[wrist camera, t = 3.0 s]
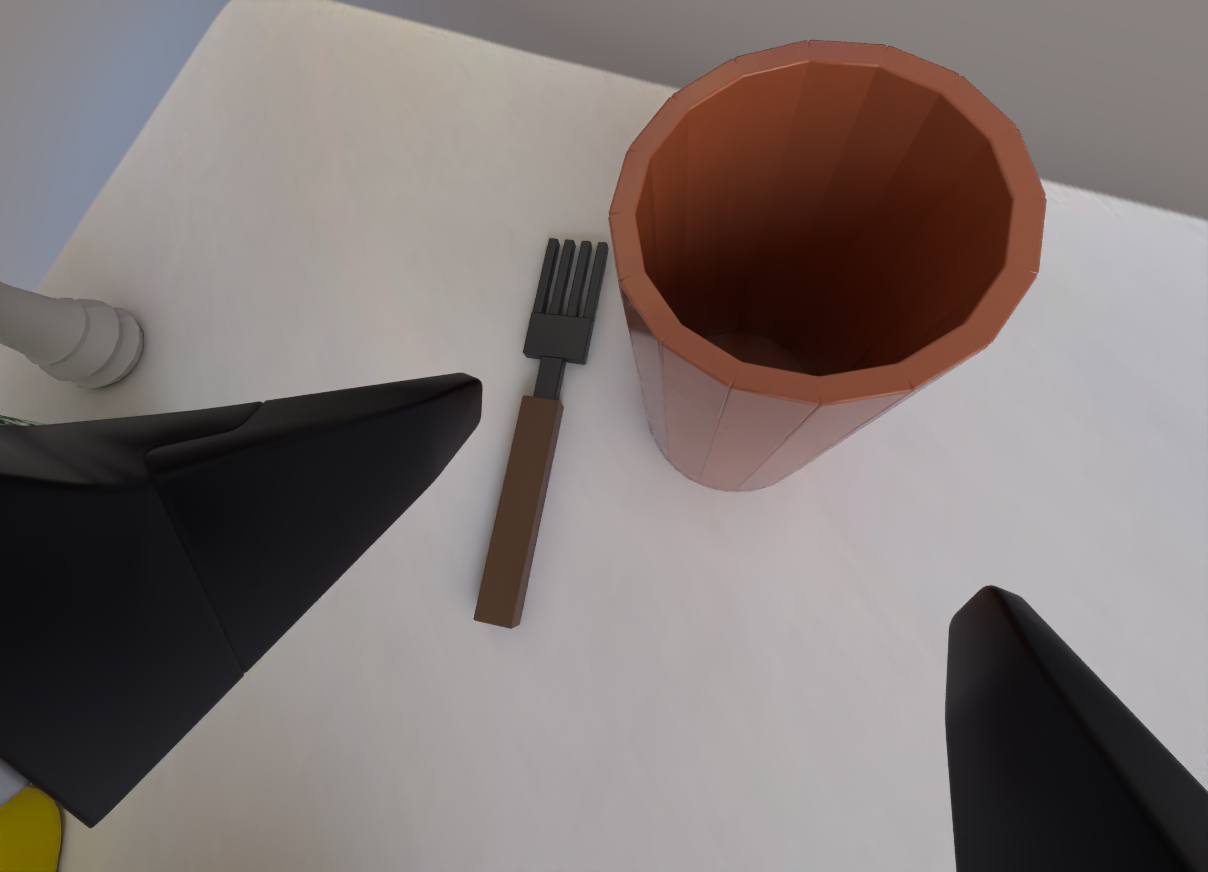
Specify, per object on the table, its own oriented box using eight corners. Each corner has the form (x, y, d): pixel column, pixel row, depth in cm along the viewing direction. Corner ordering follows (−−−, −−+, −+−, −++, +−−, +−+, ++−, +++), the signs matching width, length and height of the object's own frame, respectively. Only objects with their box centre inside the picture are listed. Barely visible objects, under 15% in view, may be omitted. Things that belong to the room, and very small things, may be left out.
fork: (533, 628, 20) (526, 632, 19) (468, 614, 20) (458, 617, 19) (608, 248, 23) (606, 235, 22) (551, 244, 23) (546, 230, 22)
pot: (706, 524, 20) (755, 485, 8) (618, 383, 21) (544, 171, 9) (858, 433, 20) (1152, 248, 7) (756, 300, 21) (860, -22, 9)
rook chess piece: (121, 296, 27) (-107, 192, 19) (164, 343, 25) (-58, 254, 18) (59, 358, 26) (-198, 278, 18) (101, 409, 25) (-155, 346, 17)
